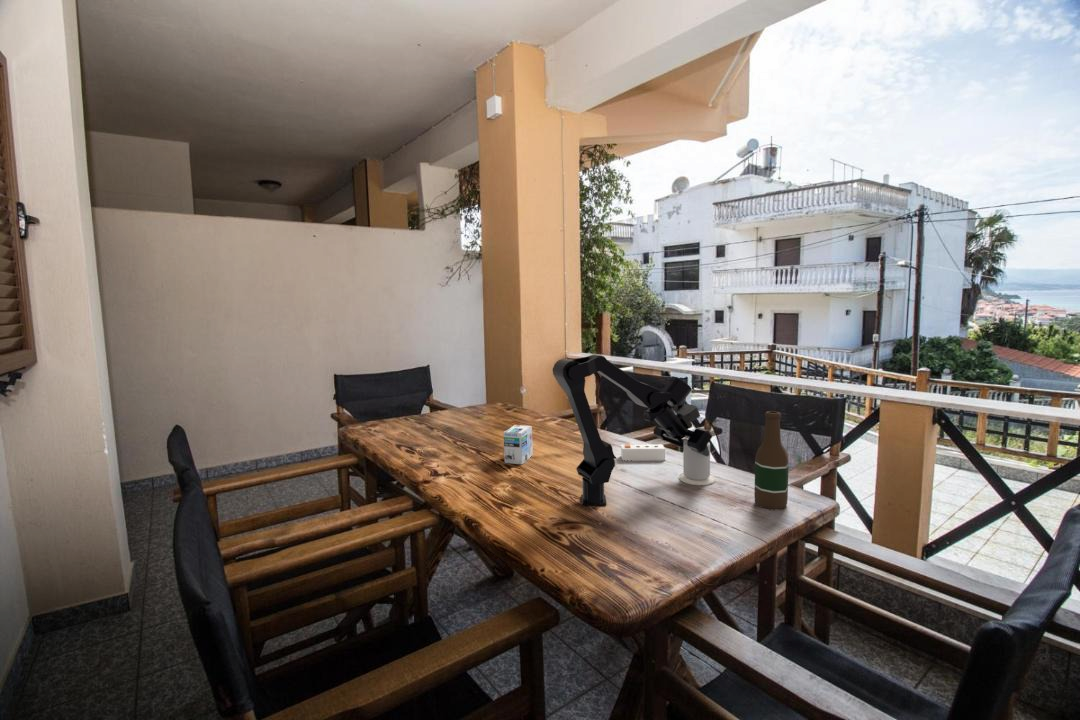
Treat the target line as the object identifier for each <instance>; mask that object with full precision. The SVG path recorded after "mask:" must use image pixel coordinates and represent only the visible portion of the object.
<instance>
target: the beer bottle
mask: <svg viewBox="0 0 1080 720" xmlns="http://www.w3.org/2000/svg"><path fill="white" fill-rule="evenodd" d="M764 417H765V421H764V422H765V424H764V435H763V441H762V443H761V445H760V446H759V447H758V448H757V451H756V453H755V460H754V503H755V504H756V505H757V506H759V507H760V506H761V508H762V507H763V509H767V508H768V510H771V509H773V510H772V511H775V510H774V509H778V510H785V508H786V506H787V504H788V497H789V496H788V495H789V462H790V461H789V455H788V452H787V450H786V447H784V445H783V444H782V438H781V437H782V436H781V417H782V415H781V412H779V411H775V410H768V411H766V412H765V414H764Z"/></svg>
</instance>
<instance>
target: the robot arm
mask: <svg viewBox="0 0 1080 720" xmlns="http://www.w3.org/2000/svg"><path fill="white" fill-rule="evenodd" d="M595 373H598V374H600V375H601V376H602V377H604V378H605V379H607V380H609V381H610V382H611V383H613V384H615V385H616V386H618V388H621V389H622V390H623V391H624V392H626V394H627V397H629V399H631V400H632V402H634V404H636V405H639V406H641V407H644V408H647V410H644V413H643V420H645V421H648V422H651V423H652V422H654V421H655V422H656V423H657V424H656V426H655V427H654V428H653V435H654V437H656V438H658V439H660V440H662V441H664V442H667V443H670V444H672V445H674V446H677V447H680V448H682V449H683V442H684V441H685V440H684V439H686V438H688V441H687V446H688V447H689V448H690V449H691V450H692V451H695V452H697V453H700V454H702V455H704V456H707V457H708V456H709V454H710V455H711V452H710V453H709V450H708V446H707V444H708V442H709V443H710V440H711V439H712V438H713V434H712V432H710V431H709V429H705V428H701V427H697V428H695V429H694V430H691V428H692V426H693V424H692V423H693V422H694V421H696V420H697V419H699V418H700V417H701V414H700V411H699V408H698V406H697V405H693V404H689V403H687V404H685V403H684V402H685V400H686V399H687V398H688V396H689V395H690V394H691V392H692V391H693V389H692V387H691V386H690V385H689V384H687V383H686V382H685V381H683V380H682V379H680V378H678V376H673V375H671V377H670V378H669V380H668V382H667V383H666V385H665V386H664V387H663V389H659V388H657V387H655V386H652V385H650V384H647V383H644V382H642V381H640V380H637V379H636V378H634V377H633V376H631V375H630V374H628V373H627V372H625V371H624V370H622V369H621V368H619V367H618V366H616V365H615V364H614V363H612V362H611V361H609V360H608V359H607V358H606V357H605V356H604V355H600V354H591V355H588V356H582V357H578V358H572V359H566V358H561V359H558V360H557V361H556V362H555V363H554V364H553V366H552V374H553V377H554V379H555V380H556V382H557V384H558V385H559V386H560V388H561V389H562V390H563V392H564V393H565V395H566V396H567V399H568V402H569V404H570V407H571V410H572V413H573V415H574V419H575V422H576V424H577V426H578V430H579V433H580V435H581V438H582V441H583V448H582V454H583V459H582V460H581V462H580V463H579V464H578V466H576V472H577V475H578V476H580V477H582V481H581V482H582V494H581V496H580V498H581V499H580V500H581V502H580V503H581V505H582V506H607V505H608V504H607V498H606V494H605V484H606V483H609V481H610V480H611V479H610V478H611V475H612V472H613V470H614V468H615V467H616V460H615V459H617V457H616V456H615V454H614V451H613V446H612V444H611V443H609V442H607V441H605V440H603V439H602V438H601V435H600V433H599V430H598V426H597V423H596V421H595V418H594V415H593V413H592V409H591V406H590V404H589V401H588V398H587V394H586V392H585V387H586V377H590V376H592V375H593V374H595ZM672 407H673V408H672Z"/></svg>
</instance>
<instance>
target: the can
mask: <svg viewBox="0 0 1080 720" xmlns="http://www.w3.org/2000/svg"><path fill="white" fill-rule="evenodd" d="M683 441H684V442H683V448H682V449H683V452H682V453H683V458H682V459H683V464H682V465H683V469H682V470H683V472H682V473H683V474H684V475H685V476H686V477H687V478H688V479H690V480H694V481H703V480H706V479H707V478H708V477H709V476H710V475H711V443H710V441H709V442H708V444H707V446H708V450H709V453H710V454H709V456H708V457H707V456H704V455H702V454H700V453H697V452H695V451H692V450H691V449H690V448H689V447H688V446H687V441H688V438H685V440H683Z"/></svg>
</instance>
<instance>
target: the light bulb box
mask: <svg viewBox="0 0 1080 720" xmlns="http://www.w3.org/2000/svg"><path fill="white" fill-rule="evenodd" d="M533 450H534V449H533V427H532V425H522V424H521V425H520V424H514V425H512V426H511V427H510V428H508V429H506V430H505V431H503V452H504V453H503V455H504V463H505V464H512V465H514V464H516V465H523V464H524V463H526V462H527V461H529V459H531V458H532V457H533V456H534V454H533V452H534V451H533ZM532 455H533V456H532ZM531 456H532V457H531ZM530 457H531V458H530Z"/></svg>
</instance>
